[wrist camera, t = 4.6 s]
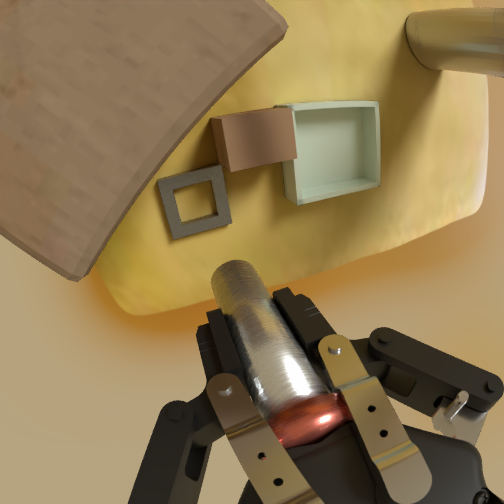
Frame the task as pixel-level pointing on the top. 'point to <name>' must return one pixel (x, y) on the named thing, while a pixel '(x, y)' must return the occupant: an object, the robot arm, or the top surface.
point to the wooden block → (107, 107)
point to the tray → (333, 149)
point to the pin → (275, 361)
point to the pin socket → (188, 179)
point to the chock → (254, 138)
